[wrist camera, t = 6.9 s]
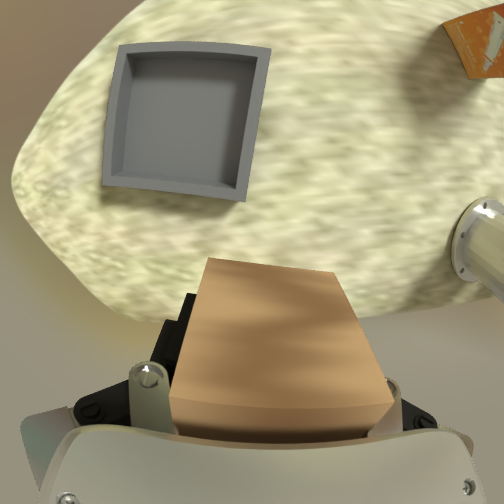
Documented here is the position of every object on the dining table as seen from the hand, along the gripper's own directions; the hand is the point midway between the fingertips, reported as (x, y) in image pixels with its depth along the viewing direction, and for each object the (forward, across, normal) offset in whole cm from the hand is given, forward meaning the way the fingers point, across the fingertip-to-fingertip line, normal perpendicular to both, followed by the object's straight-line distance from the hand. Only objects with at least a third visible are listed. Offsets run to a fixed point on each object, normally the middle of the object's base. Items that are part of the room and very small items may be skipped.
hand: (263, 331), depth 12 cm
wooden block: (+1, 0, 0) cm, 1 cm away
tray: (+18, +8, -9) cm, 22 cm away
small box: (+18, -23, -27) cm, 40 cm away
